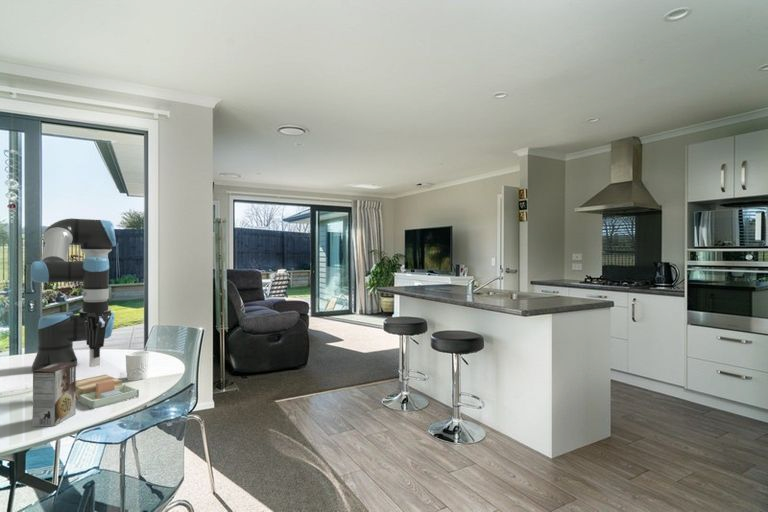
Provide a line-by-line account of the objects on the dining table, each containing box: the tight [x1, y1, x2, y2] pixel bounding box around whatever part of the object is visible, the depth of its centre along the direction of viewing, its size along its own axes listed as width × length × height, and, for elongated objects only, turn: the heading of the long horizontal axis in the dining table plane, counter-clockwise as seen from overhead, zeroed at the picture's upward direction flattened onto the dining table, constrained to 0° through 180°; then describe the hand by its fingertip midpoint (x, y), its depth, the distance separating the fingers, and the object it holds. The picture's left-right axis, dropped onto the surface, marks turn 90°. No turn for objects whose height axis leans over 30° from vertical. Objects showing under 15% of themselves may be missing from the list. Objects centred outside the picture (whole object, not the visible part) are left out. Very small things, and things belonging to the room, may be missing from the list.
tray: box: [78, 383, 140, 410], centre depth 137 cm, size 10×14×2 cm
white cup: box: [125, 350, 150, 382], centre depth 161 cm, size 8×8×10 cm
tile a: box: [96, 380, 115, 399], centre depth 139 cm, size 5×5×2 cm
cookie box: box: [31, 363, 77, 427], centre depth 120 cm, size 9×6×16 cm
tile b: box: [100, 390, 123, 399], centre depth 137 cm, size 5×5×2 cm
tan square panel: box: [76, 374, 123, 401], centre depth 144 cm, size 13×12×4 cm
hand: (94, 365), depth 144 cm, fingers closed
